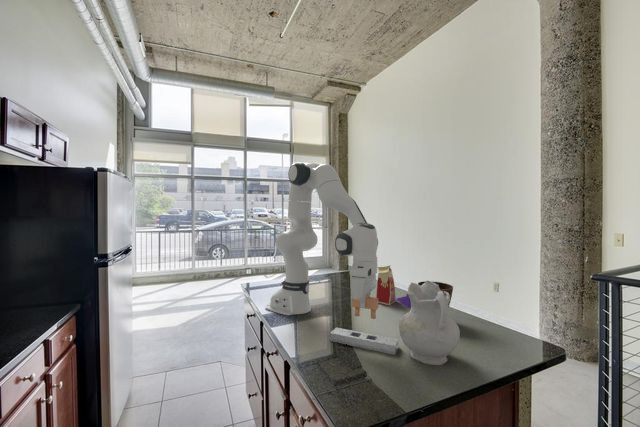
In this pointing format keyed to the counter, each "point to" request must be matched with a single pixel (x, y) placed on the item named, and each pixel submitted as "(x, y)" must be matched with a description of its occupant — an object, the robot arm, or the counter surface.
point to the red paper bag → (385, 286)
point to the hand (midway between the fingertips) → (364, 305)
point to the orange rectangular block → (370, 304)
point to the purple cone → (404, 301)
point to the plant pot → (442, 288)
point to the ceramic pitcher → (429, 325)
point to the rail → (364, 340)
